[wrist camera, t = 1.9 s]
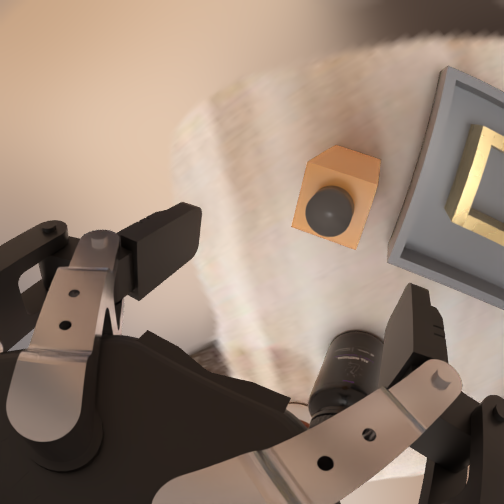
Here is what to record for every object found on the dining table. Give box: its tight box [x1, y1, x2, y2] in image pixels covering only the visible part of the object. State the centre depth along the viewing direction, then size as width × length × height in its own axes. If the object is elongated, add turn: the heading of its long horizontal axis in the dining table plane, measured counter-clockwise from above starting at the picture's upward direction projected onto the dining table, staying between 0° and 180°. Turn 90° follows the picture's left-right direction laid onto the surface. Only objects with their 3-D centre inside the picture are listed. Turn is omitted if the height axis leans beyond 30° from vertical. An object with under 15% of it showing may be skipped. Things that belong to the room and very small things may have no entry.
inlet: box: [444, 124, 504, 246], centre depth 18 cm, size 7×7×4 cm
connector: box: [291, 145, 381, 250], centre depth 20 cm, size 4×4×12 cm
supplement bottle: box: [308, 332, 384, 430], centre depth 27 cm, size 7×7×12 cm
